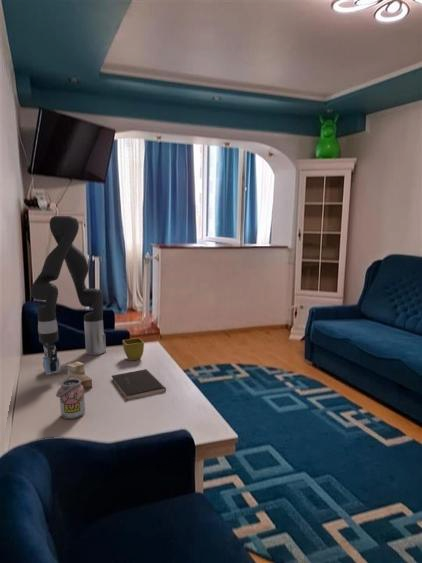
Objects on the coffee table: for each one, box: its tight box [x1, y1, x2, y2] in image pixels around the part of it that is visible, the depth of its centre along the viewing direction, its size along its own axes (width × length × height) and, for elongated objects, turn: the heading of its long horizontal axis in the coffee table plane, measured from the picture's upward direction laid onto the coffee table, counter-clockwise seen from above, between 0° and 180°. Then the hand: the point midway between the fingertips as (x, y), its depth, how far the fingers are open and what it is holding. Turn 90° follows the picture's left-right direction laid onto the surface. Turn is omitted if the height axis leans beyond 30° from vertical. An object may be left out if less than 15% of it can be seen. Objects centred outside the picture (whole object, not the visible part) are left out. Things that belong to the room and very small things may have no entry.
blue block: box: [42, 356, 60, 375], centre depth 177 cm, size 5×5×6 cm
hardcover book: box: [111, 368, 167, 400], centre depth 173 cm, size 16×23×2 cm
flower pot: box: [122, 337, 145, 361], centre depth 204 cm, size 9×9×9 cm
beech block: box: [67, 361, 85, 379], centre depth 182 cm, size 5×5×6 cm
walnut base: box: [68, 374, 93, 391], centre depth 171 cm, size 7×7×4 cm
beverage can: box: [55, 378, 86, 420], centre depth 147 cm, size 9×8×12 cm
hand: (51, 368), depth 177 cm, fingers closed on blue block, 5 cm apart
